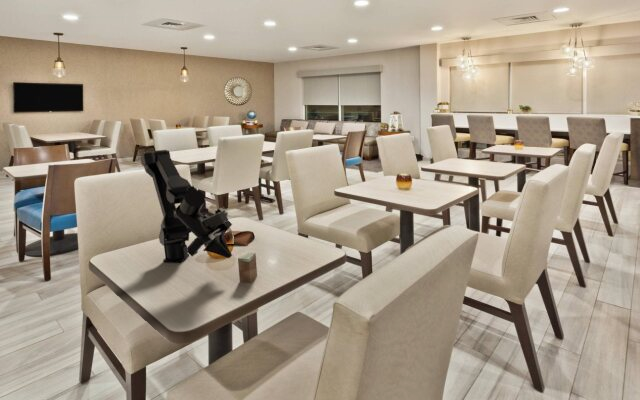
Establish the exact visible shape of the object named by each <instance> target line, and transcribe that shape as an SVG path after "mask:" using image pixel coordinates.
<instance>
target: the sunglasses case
mask: <svg viewBox="0 0 640 400" xmlns="http://www.w3.org/2000/svg"><path fill="white" fill-rule="evenodd" d="M231 231H232V233H233V236H234V245H233V246H243V247H244V246H245V247H247V246H249V245H250V244H251V242H252V241H254V240H255V233H254V232H253V231H252V230H231Z"/></svg>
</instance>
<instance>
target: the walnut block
mask: <svg viewBox="0 0 640 400" xmlns="http://www.w3.org/2000/svg"><path fill="white" fill-rule="evenodd" d="M256 255H257V254H256V252H250V251H249V252H247V251H245V252H243V253H242V254H241V255H240V256H239V257H237V264H238V276H239V282H240V283H249V284H251V283H252V282H253V281H255V279H256V278H257V277H258V266H257V256H256Z"/></svg>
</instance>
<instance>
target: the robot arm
mask: <svg viewBox="0 0 640 400" xmlns="http://www.w3.org/2000/svg"><path fill="white" fill-rule="evenodd" d="M140 163H141V166H143V168H144V171H145V173H146V174H148V175H149V177H151V178H152V180H153V184H154V188H155V192H156V196H157V199H158V203H159V205H160V210H161V213H162V216H163V217H162V221H161V223H160V230H159V234H158V240H159V243H160V244H161V245H162V246H163V248H164V256H165V257H164V259H163V260H162V261H163V262H164V263H165V262H166V263H182V262H183V261H184V260H186V259H187V258H188V257H189V256H191V257H194V256H195V255H196V254H198V252H199V250H200V249H201V248H202V247H203V246H204V247H205V248H204V249H203V252H209V253H213V254H216V255H219V256H222V257H224V258H227V259H230V258H231V257H232V256H233V254H232V252H231V250H230V249H229V247H228V246H229V245H227V244H226V242H225V239H224V235H225V232H226V231H229V229H230V228H231V226H233V223H232V222H230V220H229V218H228V214H229V212H228V211H226V210H225V209H223V208H222V207H220V208H218V209H216V210H215V213H214V214H213V215H211V216H209V214H203V213H201V212H200V210H201V209H202V207H203V205H204V203H205V202H206V197H205V194H203V192H202V191H200V190H198V189H195V187H194V185H191V183H190V182H189V180H188V179H186V178H184V177H183V176H181V175H180V173H179V171H178V169H177V167H176V165H175V163H174V162H173V159H172V158H171V153H170V151H169V150H167V149H161V150H153V151H151V150H150V151H144V152H143V154H141V155H140ZM177 204H179V205H178V206H176V205H177ZM191 233H192V234H193V235H194V236H195V238H194V240H192V242H190V244H189V245H187V244H186V242H188V241H189V240H190V234H191Z"/></svg>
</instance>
